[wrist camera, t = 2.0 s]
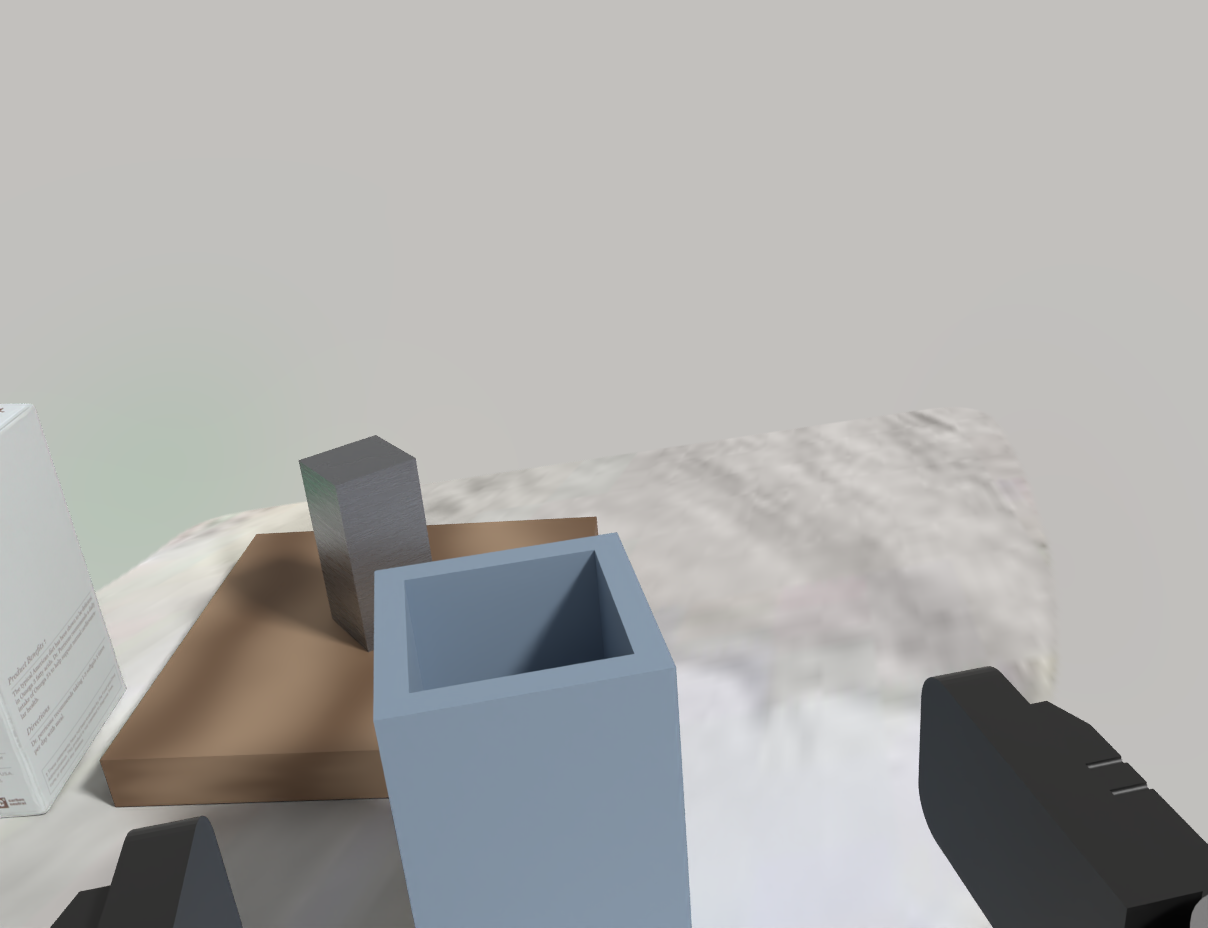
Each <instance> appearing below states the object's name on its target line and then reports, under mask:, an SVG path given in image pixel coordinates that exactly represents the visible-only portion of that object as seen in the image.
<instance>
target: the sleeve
mask: <svg viewBox="0 0 1208 928" xmlns="http://www.w3.org/2000/svg"><path fill="white" fill-rule="evenodd" d="M373 722H374V726H375V731H376V736H377V741H378V746H379V751H380V756H381V761H382V766H383V771H384V776H385V781H386V786H387V791H388V795H389V800H390V805H391V810H392V815H393V820H394V825H395V830H396V835H397V840H398V845H399V850H400V855H401V859H402V864H403V869H404V874H405V879H406V884H407V889H408V894H409V899H410V904H411V909H412V914H413V919H414V924H415V928H692V924H691V907H690V891H689V874H688V857H687V841H686V824H685V808H684V791H683V775H682V758H681V741H680V725H679V708H678V692H677V675H676V666H675V664H674V661H673V659H672V657H671V655H670V652H669V650H668V648H667V645H666V643H665V641H664V639H663V636H662V634H661V632H660V629H659V627H658V625H657V623H656V620H655V618H654V616H653V613H652V611H651V609H650V607H649V604H648V602H647V600H646V597H645V595H644V593H643V591H642V588H641V586H640V584H639V581H638V579H637V577H636V575H635V572H634V570H633V568H632V566H631V563H630V561H629V559H628V556H627V554H626V552H625V550H624V547H623V545H622V543H621V540H620V538H619V536H618V534H617V532H616V533H610V534H603V535H597V536H591V537H585V538H578V539H572V540H566V541H559V542H553V543H547V544H540V545H534V546H528V547H521V548H515V549H509V550H503V551H496V552H490V553H484V554H477V555H471V556H465V557H458V558H452V559H446V560H439V561H433V562H427V563H421V564H414V565H408V566H402V567H395V568H389V569H383V570H376V571H374V703H373Z"/></svg>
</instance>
